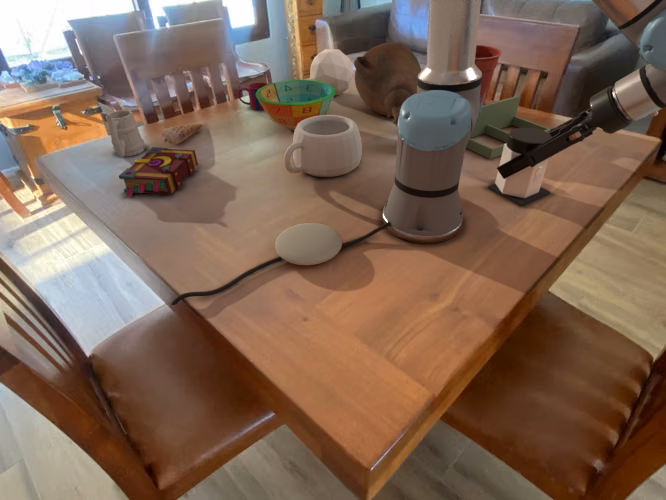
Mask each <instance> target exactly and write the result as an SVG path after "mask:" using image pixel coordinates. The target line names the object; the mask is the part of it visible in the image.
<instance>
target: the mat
mask: <svg viewBox="0 0 666 500" xmlns="http://www.w3.org/2000/svg"><path fill="white" fill-rule="evenodd" d="M487 189H488V190H491V191H493V192H494V193H496V194H498V195H499V196H502V197H504V198H505V199H507V200H508V201H511V202H513V203H514V204H517V205H519V206H520V207H523V206H525V205H528V204H531V203H533V202H534V201H535V202H536V201H537V200H540V199H542V198H544V197H546V196H548V195H550V194H552V193H551V191H550V190H548V189H546V188H544V187H542V186H540V190H539V192H538V193H536V194H533V195H531V196H529V197H526V198H520V197H515V196H511V195H506V194H502V192H501V191H500V189H499V188H498V187H497V185H496V184H495V183H493V184H490V185H488V186H487Z"/></svg>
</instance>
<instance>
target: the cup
mask: <svg viewBox="0 0 666 500" xmlns="http://www.w3.org/2000/svg"><path fill="white" fill-rule="evenodd" d="M268 84H269V83H268V82H261V81H260V82H259V81H257V82H252V83H250V84H248V85H247V87H241V88H239V89H238V91H237V97H238V99H239V101H240V102H241V103H242V104H244V105H247V106H250V109H251V110H253V111H265V110H264V108H263V107H262V105H261V104H260V102H259V100H258V99H257V98H256V92H257V91H258V90H259V89H260V88H262V87H263V86H266V85H268ZM241 91H246V92H248V99H249V101H248V102H247V101H245V100H243V99H242V98H241Z"/></svg>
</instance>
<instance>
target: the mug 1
mask: <svg viewBox="0 0 666 500" xmlns="http://www.w3.org/2000/svg"><path fill="white" fill-rule="evenodd" d="M105 120H106V123H107V131H108V132H109V135H110V139H111V140H110V141H111V142H110V143H111V145H112V149H113V150H114V151H115V153H116V154H117V156H119V157H120V158H125V157H132V156H136V155H139V154H141V153H143V152H145V149H146V147H145V144H146V143H145V140H144V139H143V138H142V136H141V133H140V131H139V128H138V127H139V123H138V122H137V121H136V120H135V116H134V114H133V111H131V110H128V109H122V110H121V109H120V110H114V111H111V112H108V113H106V114H105Z"/></svg>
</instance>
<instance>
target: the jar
mask: <svg viewBox="0 0 666 500" xmlns="http://www.w3.org/2000/svg"><path fill="white" fill-rule="evenodd" d="M550 138H552V136H551V135H550V134H549V133H547V132H545V131H543V130H540V129H535V128H518V127H516V128H513V129H511V130H510V131H509V136H508V140H507V143H506V142H504V143H503V144H504V148H503V152H502V155H500V156H501V157H500V161H499V166H501V165H503V164H504V163H506V162H508V161H510V160H512V159H514V158H515V157H517V156H519V155H521V154H523V152H522V151H523V150H526V152H529V151H531V150H532V149H534V148H535V147H537V146H539V145H540V144H542V143H544V142H545V141H547V140H549V139H550ZM549 160H550V158H548V159H546V160H544V161H542V162H540V163H539V164H537V165H536V166H534V167H531V166H529V167H527V168H525V169H523V170H521V171H519V172H517V173H515V174H513V175H511V176H509V177H507V178H505V179H503V177H502V176H501V174H500V173H499V171H498V170H497V174H496V178H495V182H494V184H496V185H497V187H498V188H499V189H500V191H501V192H502V194H506V195H511V196H515V197H520V198H526V197H529V196H531V195H533V194H536V193H538V192H539V190H540V187H542V183H543V180H544V176H545V173H546V170H547V167H548V164H549ZM499 166H498V167H499Z"/></svg>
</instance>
